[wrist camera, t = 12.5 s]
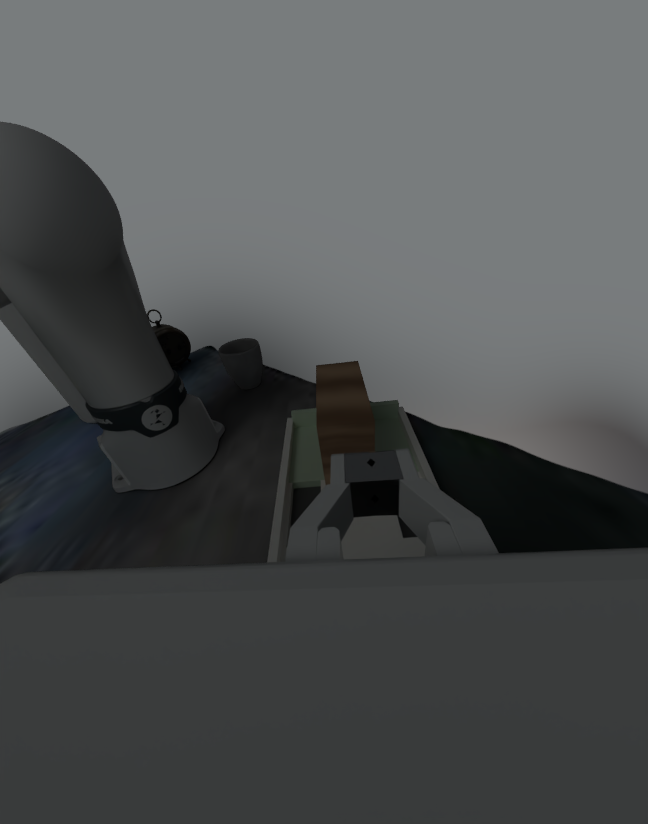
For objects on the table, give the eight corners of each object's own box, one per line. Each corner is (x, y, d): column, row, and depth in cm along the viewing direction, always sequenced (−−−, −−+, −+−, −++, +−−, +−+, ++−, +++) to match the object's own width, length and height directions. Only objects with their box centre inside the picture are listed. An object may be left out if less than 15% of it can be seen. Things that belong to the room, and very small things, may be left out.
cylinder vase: (106, 429, 56) (11, 303, 41) (70, 420, 60) (-28, 304, 45) (155, 396, 65) (92, 283, 50) (121, 390, 69) (52, 285, 54)
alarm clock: (191, 358, 81) (167, 302, 72) (200, 362, 78) (176, 304, 69) (155, 374, 75) (123, 315, 66) (163, 379, 72) (131, 318, 62)
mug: (275, 378, 66) (266, 340, 60) (249, 397, 60) (236, 357, 54) (242, 369, 72) (231, 334, 66) (215, 385, 66) (200, 348, 60)
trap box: (531, 735, 19) (557, 728, 16) (253, 747, 20) (234, 742, 17) (401, 420, 48) (403, 399, 45) (290, 431, 49) (285, 411, 46)
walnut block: (374, 494, 35) (375, 421, 27) (327, 498, 35) (316, 427, 28) (360, 425, 46) (357, 361, 39) (324, 428, 46) (316, 365, 39)
